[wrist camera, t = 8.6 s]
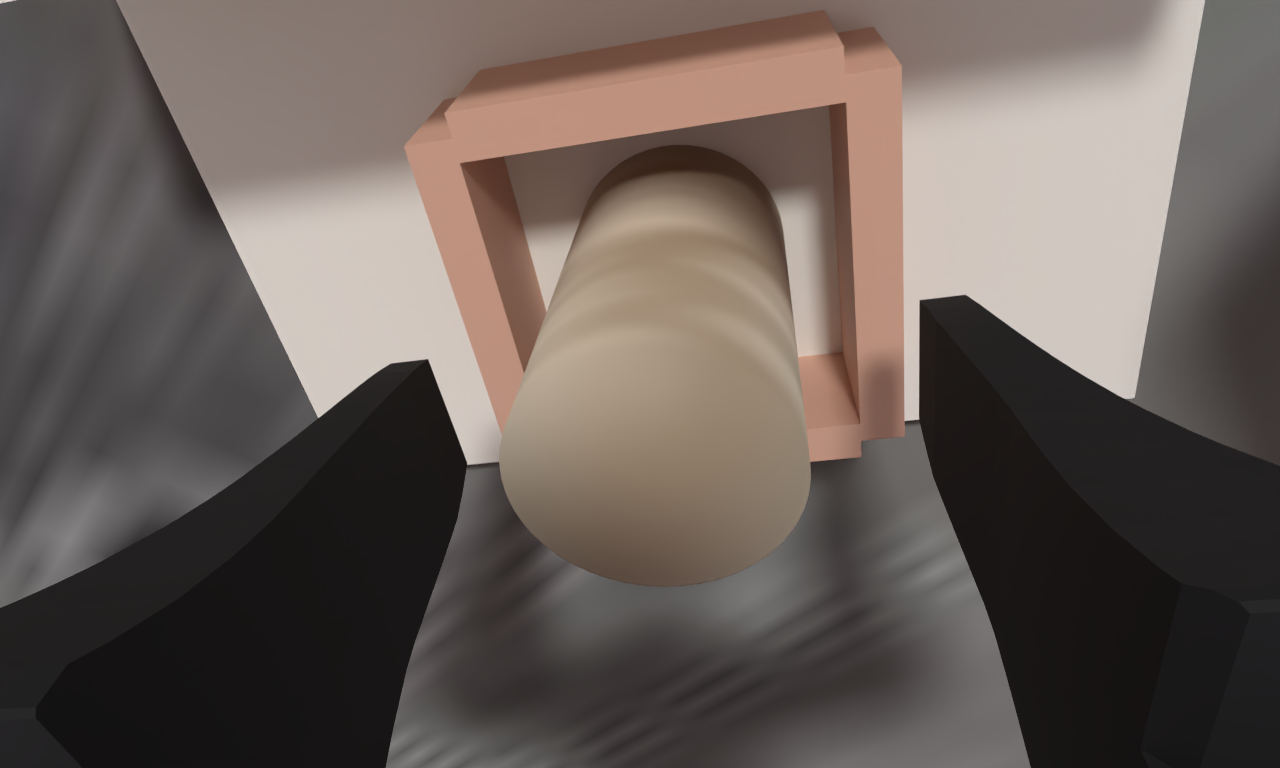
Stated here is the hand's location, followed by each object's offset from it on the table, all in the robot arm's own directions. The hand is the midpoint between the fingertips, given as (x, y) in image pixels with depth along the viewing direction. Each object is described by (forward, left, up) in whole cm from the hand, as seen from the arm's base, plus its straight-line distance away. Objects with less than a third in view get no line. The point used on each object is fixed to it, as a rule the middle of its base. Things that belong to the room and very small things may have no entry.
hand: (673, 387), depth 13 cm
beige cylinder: (0, 0, -5) cm, 5 cm away
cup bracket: (0, -1, -6) cm, 6 cm away
